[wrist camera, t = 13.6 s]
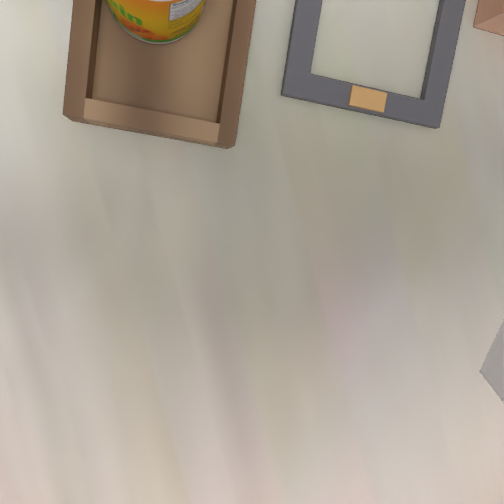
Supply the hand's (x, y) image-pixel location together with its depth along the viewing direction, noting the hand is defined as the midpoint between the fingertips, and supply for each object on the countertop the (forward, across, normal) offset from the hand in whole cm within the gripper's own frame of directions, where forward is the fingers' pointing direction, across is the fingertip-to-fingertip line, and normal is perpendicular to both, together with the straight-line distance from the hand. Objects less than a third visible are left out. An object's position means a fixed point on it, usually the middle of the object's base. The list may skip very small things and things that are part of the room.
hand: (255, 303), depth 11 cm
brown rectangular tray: (+19, +5, -7) cm, 21 cm away
